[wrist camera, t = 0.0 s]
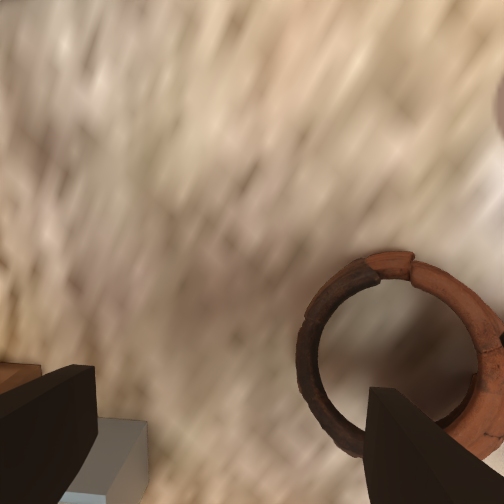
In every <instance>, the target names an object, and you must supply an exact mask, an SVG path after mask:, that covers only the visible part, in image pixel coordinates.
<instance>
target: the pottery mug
mask: <svg viewBox="0 0 504 504" xmlns="http://www.w3.org/2000/svg"><path fill="white" fill-rule="evenodd" d="M414 258H415V254H414V253H413V252H407V251H404V252H402V251H398V252H385V253H379V254H375V255H371V256H369V257H368V258H366V259H365V258H360V259H357V260H354V261H353V262H351V263H350V264H349V265H347V266H346V267H344V268H343V269H342V270H340V271H339V272H338V273H337V274H336V275H334V276H333V277H332V278H331V279H330V280H329V281H328V282H327V283H326V284H325V285H324V286H323V287H322V288H321V289H320V290H319V291H318V293H317V294H316V295H315V297H314V298H313V300H312V301H311V303H310V304H309V306H308V308H307V310H306V312H305V315H304V317H305V320H304V322H303V324H302V327H301V328H300V330H299V332H298V338H297V344H296V370H297V383H298V387H299V391H300V393H301V394H302V396H303V398H304V399H305V401H306V402H307V403H308V405H309V408H310V410H311V412H312V413H313V414H314V416H315V418H316V419H317V420H318V421H319V423H320V425H321V427H322V429H324V430H325V431H326V432H327V434H328V435H329V436H330V437H331V438H332V439H333V440H334V443H335V444H336V446H337V447H339V448H340V449H342V450H343V451H344V452H346V453H347V454H348V455H350V456H352V457H354V458H357V457H360V458H363V448H364V438H365V431H363V430H361V429H359V428H358V427H356V426H355V425H353V424H352V423H351V422H349V421H348V420H347V419H346V418H345V417H344V416H343V415H342V414H341V413H340V412H339V411H338V410H337V409H336V408H335V407H334V405H333V404H332V402H331V401H330V400H329V398H328V396H327V394H326V392H325V390H324V387H323V384H322V381H321V377H320V374H319V368H318V347H319V341H320V337H321V334H322V331H323V329H324V326H325V325H326V323H327V321H328V320H329V318H330V317H331V315H332V314H333V312H334V311H335V310H336V309H337V308H338V306H339V305H340V304H342V303H343V302H344V301H345V300H346V299H348V298H349V297H351V296H353V295H354V294H356V293H357V292H359V291H362V290H364V289H366V288H370V287H373V286H376V285H378V284H380V282H381V280H383V279H401V280H407V281H411V284H412V286H413V287H415V288H418V289H421V290H423V291H425V292H428V293H430V294H432V295H434V296H436V297H437V298H439V299H440V300H442V301H443V302H444V303H446V304H447V305H448V306H449V307H450V308H451V309H452V310H453V311H454V312H455V313H456V314H457V315H458V316H459V318H460V319H461V320H462V322H463V323H464V325H465V326H466V328H467V330H468V332H469V333H470V335H471V338H472V342H473V345H474V347H475V349H476V352H477V359H478V372H477V374H474V375H473V378H472V381H471V385H470V388H469V390H468V392H467V394H466V396H465V398H464V399H463V401H462V402H461V403H460V404H459V405H458V407H457V408H455V409H454V410H453V411H452V412H451V413H450V414H449V415H447V416H446V417H444V418H442V419H440V420H438V421H435V422H434V423H436V424H437V425H438V426H439V427H440V428H441V429H443V430H444V431H445V432H446V433H447V434H449V435H450V436H451V437H452V438H453V439H455V440H456V441H457V442H458V443H460V444H461V445H462V446H463V447H465V448H466V449H467V450H468V451H470V452H471V453H472V454H474V455H475V456H476V457H477V458H479V459H480V460H483V459H485V458H486V457H487V456H489V455H490V454H491V453H492V452H493V451H495V450H497V449H498V448H499V447H500V445H501V444H502V443H503V441H504V324H503V323H502V321H501V320H500V319H499V318H498V317H497V315H496V314H495V313H494V312H493V311H492V309H491V308H490V307H489V306H488V305H486V304H485V303H484V302H483V300H482V299H481V298H480V297H479V296H478V295H477V294H476V293H475V292H473V291H472V290H471V289H470V288H468V287H467V286H466V285H464V284H463V283H462V282H460V281H458V280H457V279H455V278H454V277H453V276H451V275H450V274H449V273H447V272H445V271H443V270H441V269H439V268H437V267H435V266H432V265H429V264H427V263H423V262H420V261H413V260H414Z"/></svg>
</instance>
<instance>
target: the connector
mask: <svg viewBox="0 0 504 504" xmlns="http://www.w3.org/2000/svg"><path fill="white" fill-rule="evenodd" d="M148 483H149V466H148V434H147V421H136V420H124V419H112V418H100V417H98V436H97V438H96V440H95V442H94V444H93V446H92V448H91V450H90V452H89V454H88V456H87V458H86V460H85V462H84V464H83V466H82V467H81V469H80V471H79V473H78V474H77V476H76V477H75V479H74V480H73V482H72V483H71V485H70V486H69V488H68V489H67V491H66V492H65V494H64V495H63V497H62V498H61V499H60V501H59V502H58V504H140V501H141V499H142V497H143V495H144V492H145V490H146V488H147V486H148Z"/></svg>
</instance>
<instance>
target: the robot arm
mask: <svg viewBox="0 0 504 504" xmlns="http://www.w3.org/2000/svg"><path fill="white" fill-rule="evenodd" d="M97 436H98V417H97V400H96V382H95V366H88V365H75V364H72V365H69V366H66V367H63V368H60V369H58V370H55V371H53V372H50V373H48V374H46V375H43V376H41V377H39V378H36V379H34V380H32V381H29V382H27V383H25V384H23V385H20V386H18V387H16V388H14V389H11V390H9V391H7V392H4V393H2V394H0V504H58V502H59V501H60V499H61V498H62V497H63V495H64V494H65V492H66V491H67V489H68V488H69V486H70V485H71V483H72V482H73V480H74V479H75V477H76V476H77V474H78V473H79V471H80V469H81V467H82V466H83V464H84V462H85V460H86V458H87V456H88V454H89V452H90V450H91V448H92V446H93V444H94V442H95V440H96V438H97ZM363 464H364V470H365V477H366V483H367V488H368V494H369V499H370V503H371V504H504V477H503V476H502V475H500V474H499V473H497V472H496V471H495V470H493V469H492V468H491V467H489V466H488V465H487V464H485V463H484V462H483V461H481V460H480V459H479V458H477V457H476V456H475V455H474V454H472V453H471V452H470V451H468V450H467V449H466V448H465V447H463V446H462V445H461V444H460V443H458V442H457V441H456V440H455V439H453V438H452V437H451V436H450V435H449V434H447V433H446V432H445V431H444V430H443V429H441V428H440V427H439V426H438V425H437V424H436V423H434V422H433V421H432V420H431V419H430V418H429V417H427V416H426V415H425V414H424V413H423V412H422V411H421V410H419V409H418V408H417V407H416V406H415V405H414V404H413V403H411V402H410V401H409V400H408V399H407V398H406V397H405V396H403V395H402V394H401V393H400V392H399V391H397V390H396V389H394V388H380V387H370V390H369V399H368V409H367V419H366V428H365V438H364V448H363Z"/></svg>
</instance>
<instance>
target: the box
mask: <svg viewBox="0 0 504 504" xmlns="http://www.w3.org/2000/svg"><path fill="white" fill-rule="evenodd" d="M39 377H41V366H40V365H28V364H14V363H0V394H2V393H4V392H7V391H9V390H11V389H14V388H16V387H18V386H20V385H23V384H25V383H27V382H29V381H32V380H34V379H36V378H39Z"/></svg>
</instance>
